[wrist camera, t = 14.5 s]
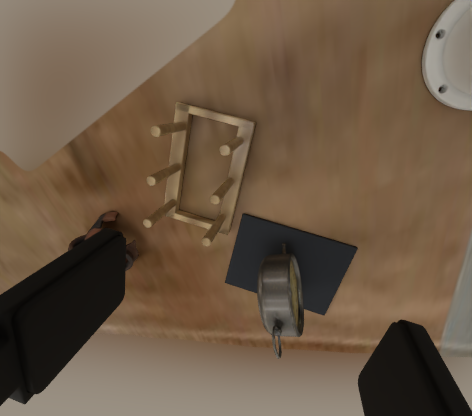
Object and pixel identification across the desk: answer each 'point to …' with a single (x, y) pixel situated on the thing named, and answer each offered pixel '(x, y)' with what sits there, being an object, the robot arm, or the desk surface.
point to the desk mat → (304, 249)
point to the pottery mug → (110, 216)
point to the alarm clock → (280, 296)
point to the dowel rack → (177, 168)
